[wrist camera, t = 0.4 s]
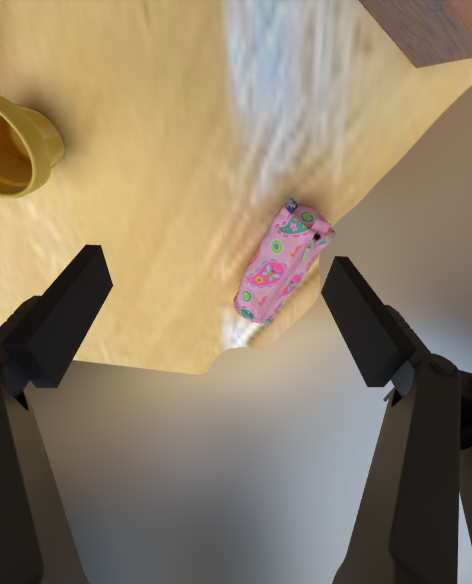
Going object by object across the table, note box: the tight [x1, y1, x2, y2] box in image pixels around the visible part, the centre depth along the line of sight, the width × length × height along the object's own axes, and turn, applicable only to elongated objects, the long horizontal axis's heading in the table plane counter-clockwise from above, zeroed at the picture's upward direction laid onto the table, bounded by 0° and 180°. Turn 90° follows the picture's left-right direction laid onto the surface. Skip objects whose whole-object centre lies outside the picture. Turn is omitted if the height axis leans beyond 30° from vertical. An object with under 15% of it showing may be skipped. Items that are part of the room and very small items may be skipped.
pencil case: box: [234, 198, 336, 324], centre depth 41 cm, size 21×9×9 cm, turn 156°
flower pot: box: [0, 96, 64, 198], centre depth 30 cm, size 10×10×10 cm
